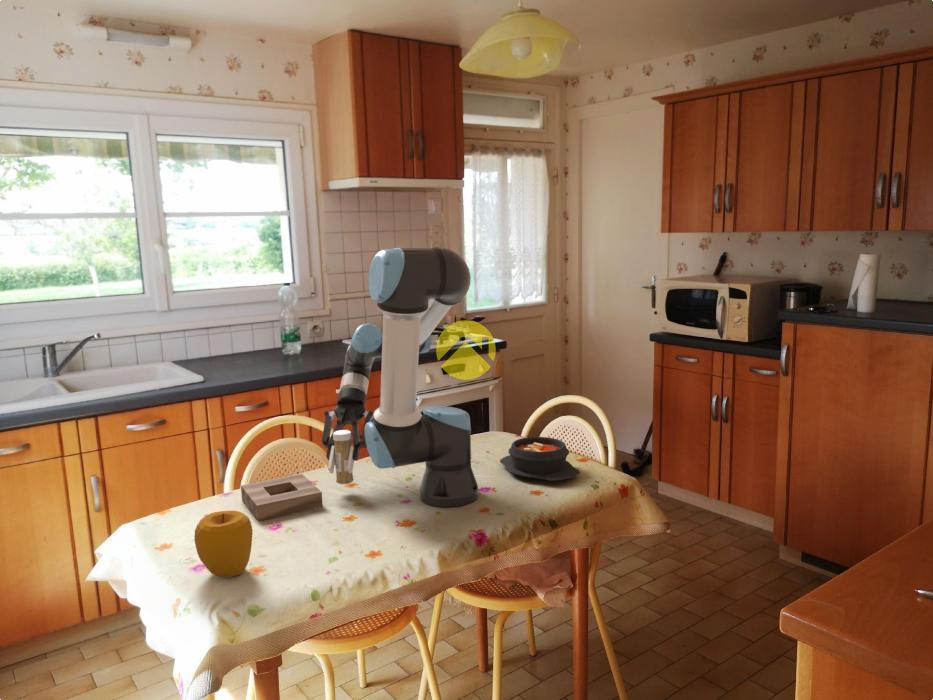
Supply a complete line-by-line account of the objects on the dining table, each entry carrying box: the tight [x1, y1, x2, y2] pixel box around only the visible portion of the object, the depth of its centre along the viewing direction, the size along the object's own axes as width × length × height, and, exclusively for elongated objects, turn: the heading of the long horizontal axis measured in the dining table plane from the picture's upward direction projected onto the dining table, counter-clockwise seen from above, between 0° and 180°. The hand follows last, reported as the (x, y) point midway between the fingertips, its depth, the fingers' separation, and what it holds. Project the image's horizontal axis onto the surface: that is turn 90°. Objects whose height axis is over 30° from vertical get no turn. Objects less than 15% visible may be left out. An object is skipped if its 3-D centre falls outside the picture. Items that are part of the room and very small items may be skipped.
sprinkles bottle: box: [332, 429, 354, 485], centre depth 182 cm, size 5×5×14 cm
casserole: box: [499, 436, 581, 482], centre depth 196 cm, size 25×19×8 cm
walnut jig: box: [240, 473, 324, 522], centre depth 177 cm, size 16×16×4 cm
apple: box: [193, 510, 253, 579], centre depth 140 cm, size 11×11×13 cm
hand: (339, 470), depth 178 cm, fingers closed on sprinkles bottle, 4 cm apart
